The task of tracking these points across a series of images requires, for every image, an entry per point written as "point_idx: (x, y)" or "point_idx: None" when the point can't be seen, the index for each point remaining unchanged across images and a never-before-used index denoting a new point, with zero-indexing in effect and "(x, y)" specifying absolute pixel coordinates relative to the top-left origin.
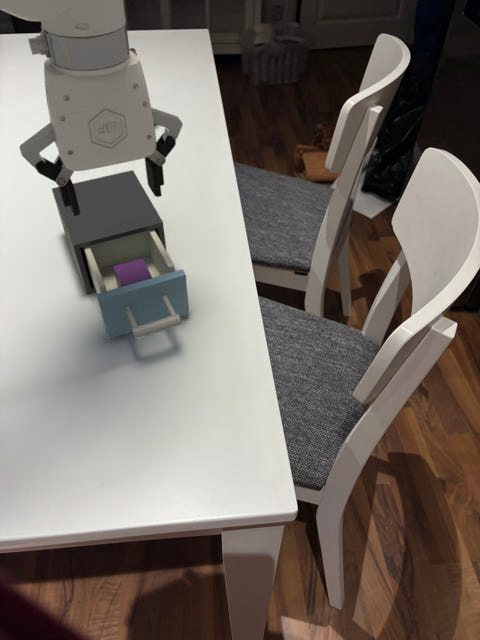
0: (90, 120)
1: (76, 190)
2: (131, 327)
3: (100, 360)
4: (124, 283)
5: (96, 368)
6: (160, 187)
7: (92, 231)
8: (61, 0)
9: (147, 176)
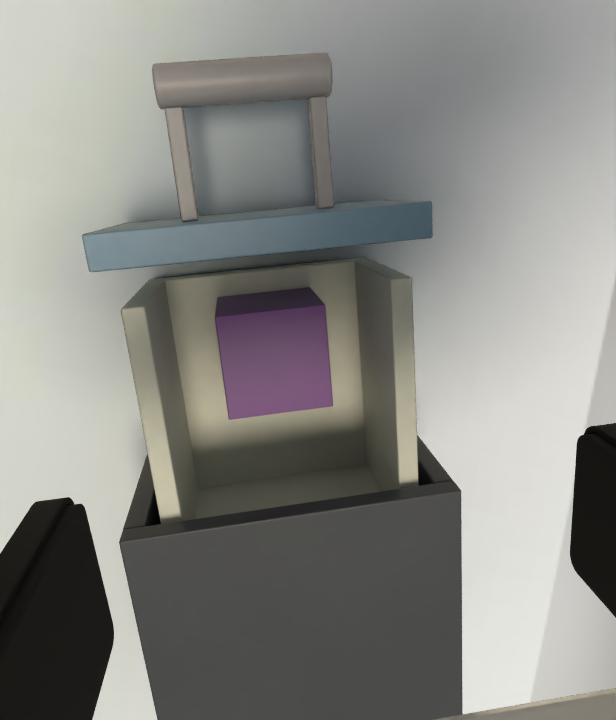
0: None
1: None
2: (310, 206)
3: (409, 144)
4: (313, 313)
5: (425, 118)
6: (10, 539)
7: (384, 545)
8: None
9: (95, 681)
